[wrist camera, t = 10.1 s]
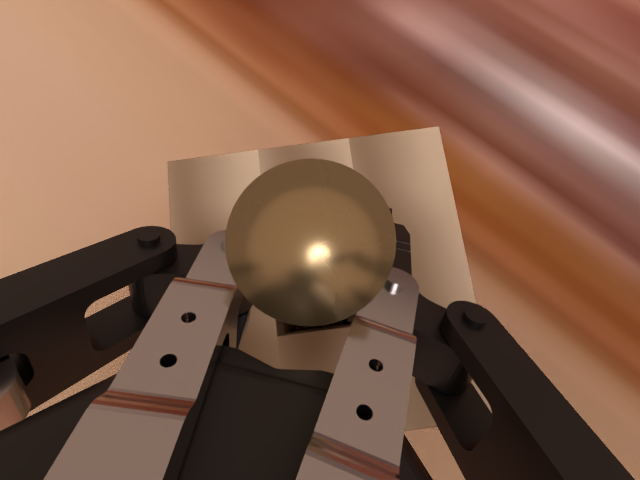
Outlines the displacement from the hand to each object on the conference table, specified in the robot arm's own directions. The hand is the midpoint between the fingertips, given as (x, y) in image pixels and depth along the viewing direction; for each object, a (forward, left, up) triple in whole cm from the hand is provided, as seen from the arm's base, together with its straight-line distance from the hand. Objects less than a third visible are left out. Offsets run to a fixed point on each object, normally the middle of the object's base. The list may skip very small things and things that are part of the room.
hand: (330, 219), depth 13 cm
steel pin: (+1, +2, -4) cm, 5 cm away
